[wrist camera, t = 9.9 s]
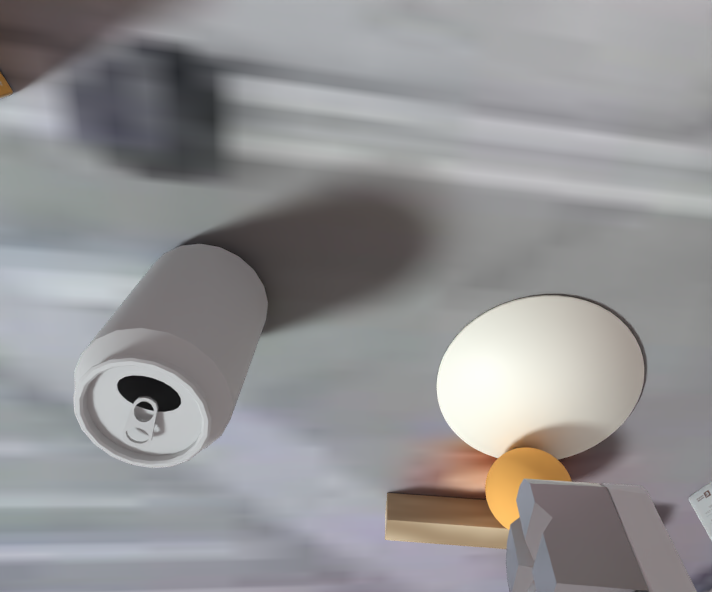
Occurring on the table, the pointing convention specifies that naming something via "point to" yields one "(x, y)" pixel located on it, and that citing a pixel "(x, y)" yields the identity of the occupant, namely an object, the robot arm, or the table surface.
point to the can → (172, 358)
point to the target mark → (540, 377)
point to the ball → (518, 479)
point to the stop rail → (443, 521)
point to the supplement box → (703, 507)
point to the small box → (4, 88)
